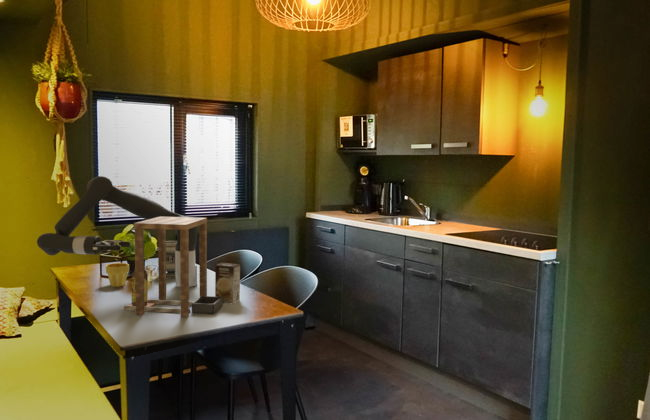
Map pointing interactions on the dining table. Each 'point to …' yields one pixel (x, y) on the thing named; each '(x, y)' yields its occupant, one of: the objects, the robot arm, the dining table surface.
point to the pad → (147, 304)
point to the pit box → (207, 305)
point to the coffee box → (227, 282)
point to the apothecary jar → (170, 259)
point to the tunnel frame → (162, 225)
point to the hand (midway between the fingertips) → (125, 246)
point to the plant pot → (117, 273)
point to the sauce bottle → (144, 287)
